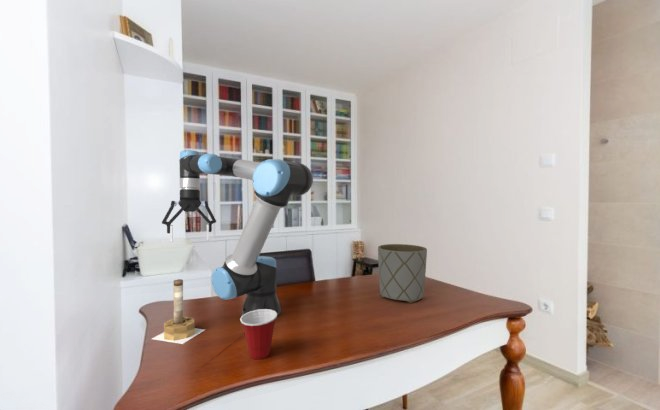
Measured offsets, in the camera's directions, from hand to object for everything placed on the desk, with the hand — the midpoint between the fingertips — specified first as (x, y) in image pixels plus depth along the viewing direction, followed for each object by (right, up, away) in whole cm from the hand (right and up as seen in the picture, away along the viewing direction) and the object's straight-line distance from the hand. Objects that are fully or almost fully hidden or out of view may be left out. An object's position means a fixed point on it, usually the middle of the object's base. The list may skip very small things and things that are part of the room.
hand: (189, 240), depth 129 cm
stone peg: (+7, -28, -24) cm, 38 cm away
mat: (+7, -29, -24) cm, 39 cm away
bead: (+7, -28, -24) cm, 38 cm away
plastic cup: (+36, -30, -35) cm, 59 cm away
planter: (+92, -29, +22) cm, 99 cm away
